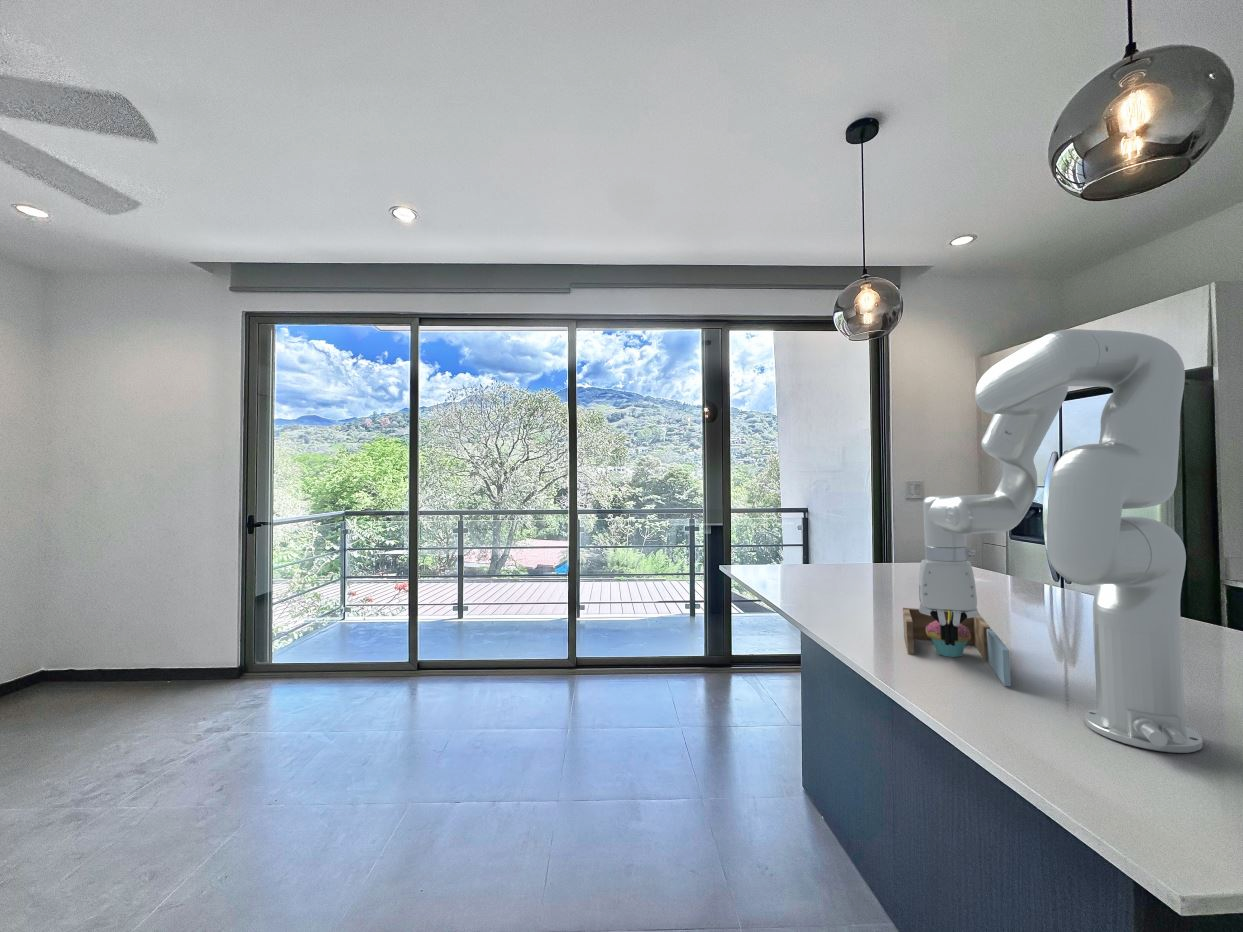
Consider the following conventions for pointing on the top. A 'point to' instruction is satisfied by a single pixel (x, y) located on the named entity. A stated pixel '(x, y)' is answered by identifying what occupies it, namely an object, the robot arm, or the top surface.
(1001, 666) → the blue grey rectangular panel
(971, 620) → the wooden box
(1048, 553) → the robot arm
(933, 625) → the cupcake
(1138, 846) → the top surface
